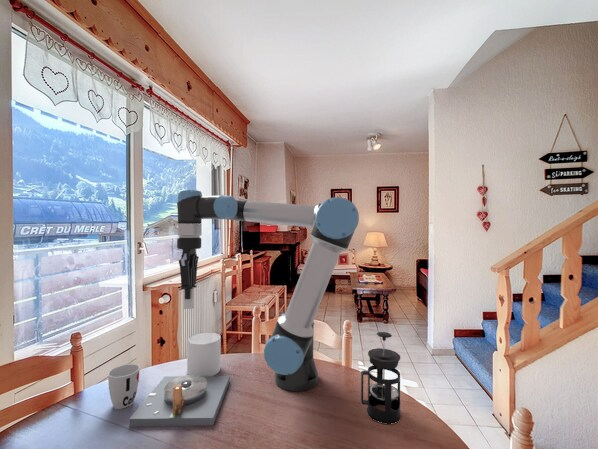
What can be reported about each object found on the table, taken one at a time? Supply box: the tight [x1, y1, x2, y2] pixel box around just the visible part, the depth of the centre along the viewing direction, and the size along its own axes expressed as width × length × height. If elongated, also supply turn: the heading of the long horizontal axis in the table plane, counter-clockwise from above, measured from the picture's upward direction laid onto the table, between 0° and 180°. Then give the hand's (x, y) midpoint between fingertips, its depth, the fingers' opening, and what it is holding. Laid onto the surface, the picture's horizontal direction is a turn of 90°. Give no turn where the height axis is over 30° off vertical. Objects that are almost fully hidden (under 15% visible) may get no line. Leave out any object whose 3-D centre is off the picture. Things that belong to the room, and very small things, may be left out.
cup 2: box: [186, 332, 222, 376], centre depth 107 cm, size 12×12×12 cm
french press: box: [360, 331, 402, 425], centre depth 84 cm, size 12×9×23 cm
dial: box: [164, 374, 207, 414], centre depth 86 cm, size 16×12×6 cm
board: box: [128, 375, 231, 427], centre depth 88 cm, size 22×22×2 cm
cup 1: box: [107, 363, 140, 410], centre depth 87 cm, size 8×8×10 cm
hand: (188, 308), depth 96 cm, fingers closed
